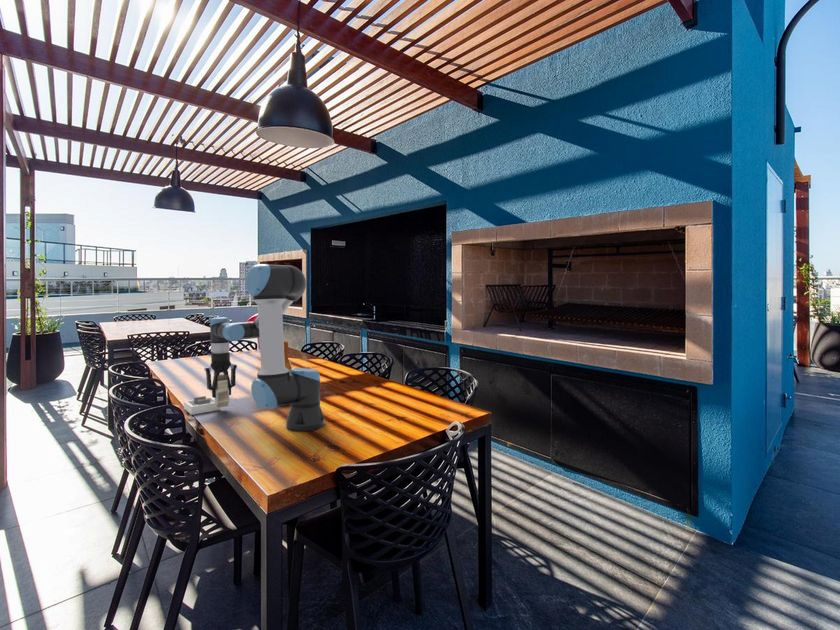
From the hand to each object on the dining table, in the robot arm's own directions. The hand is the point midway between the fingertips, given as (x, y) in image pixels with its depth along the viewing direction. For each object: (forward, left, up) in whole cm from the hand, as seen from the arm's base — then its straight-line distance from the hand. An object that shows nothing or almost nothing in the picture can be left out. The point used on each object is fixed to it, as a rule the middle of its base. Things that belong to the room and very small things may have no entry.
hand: (222, 403), depth 192 cm
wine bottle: (-6, -27, -4) cm, 28 cm away
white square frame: (+9, +6, -3) cm, 11 cm away
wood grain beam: (0, 0, -1) cm, 1 cm away
